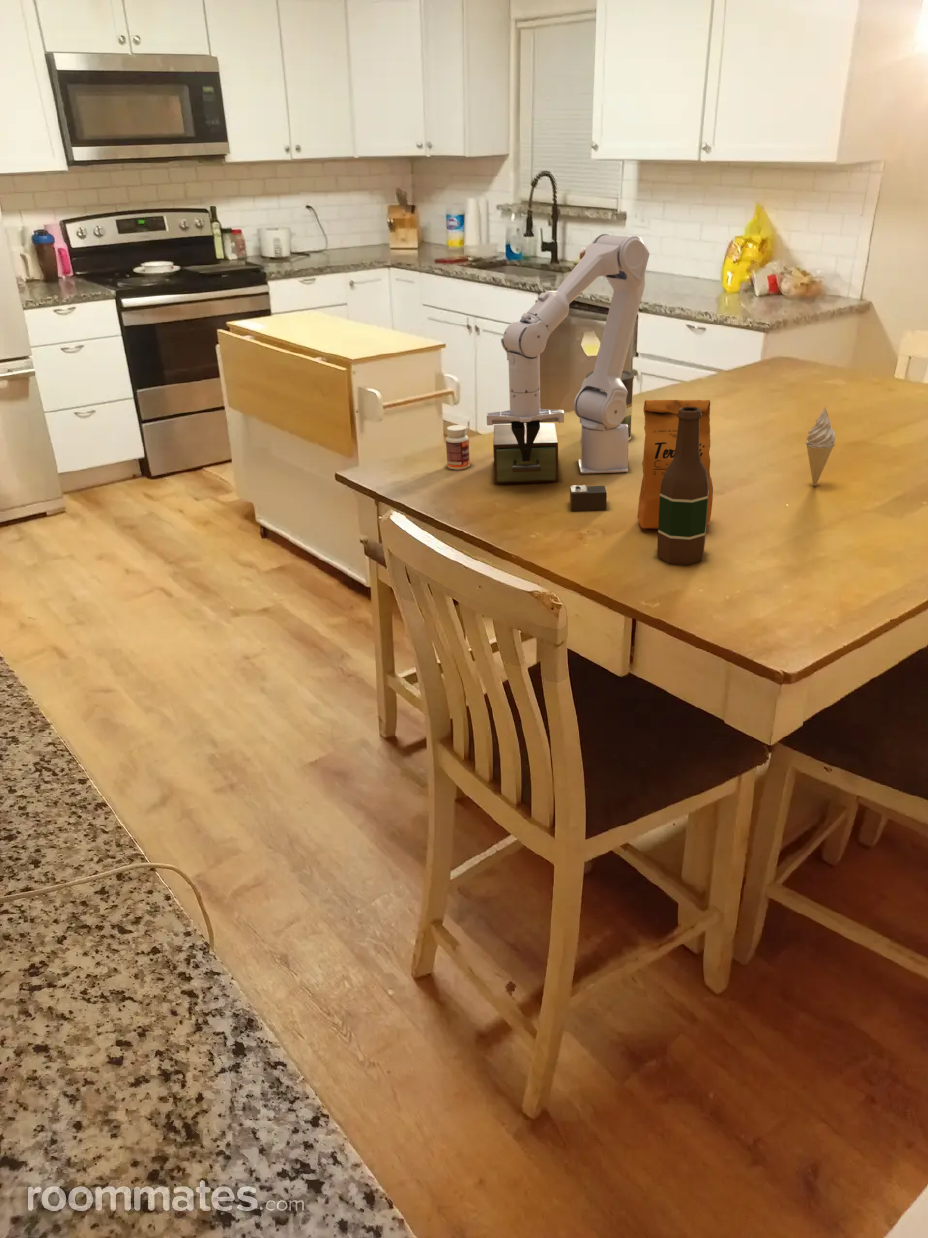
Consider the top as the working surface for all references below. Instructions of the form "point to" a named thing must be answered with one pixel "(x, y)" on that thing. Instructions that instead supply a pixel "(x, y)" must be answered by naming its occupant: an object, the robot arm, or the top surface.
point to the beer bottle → (684, 496)
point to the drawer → (526, 464)
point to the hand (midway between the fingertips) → (526, 459)
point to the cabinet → (508, 440)
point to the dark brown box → (587, 498)
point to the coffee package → (667, 452)
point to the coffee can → (628, 383)
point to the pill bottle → (457, 447)
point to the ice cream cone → (820, 445)
